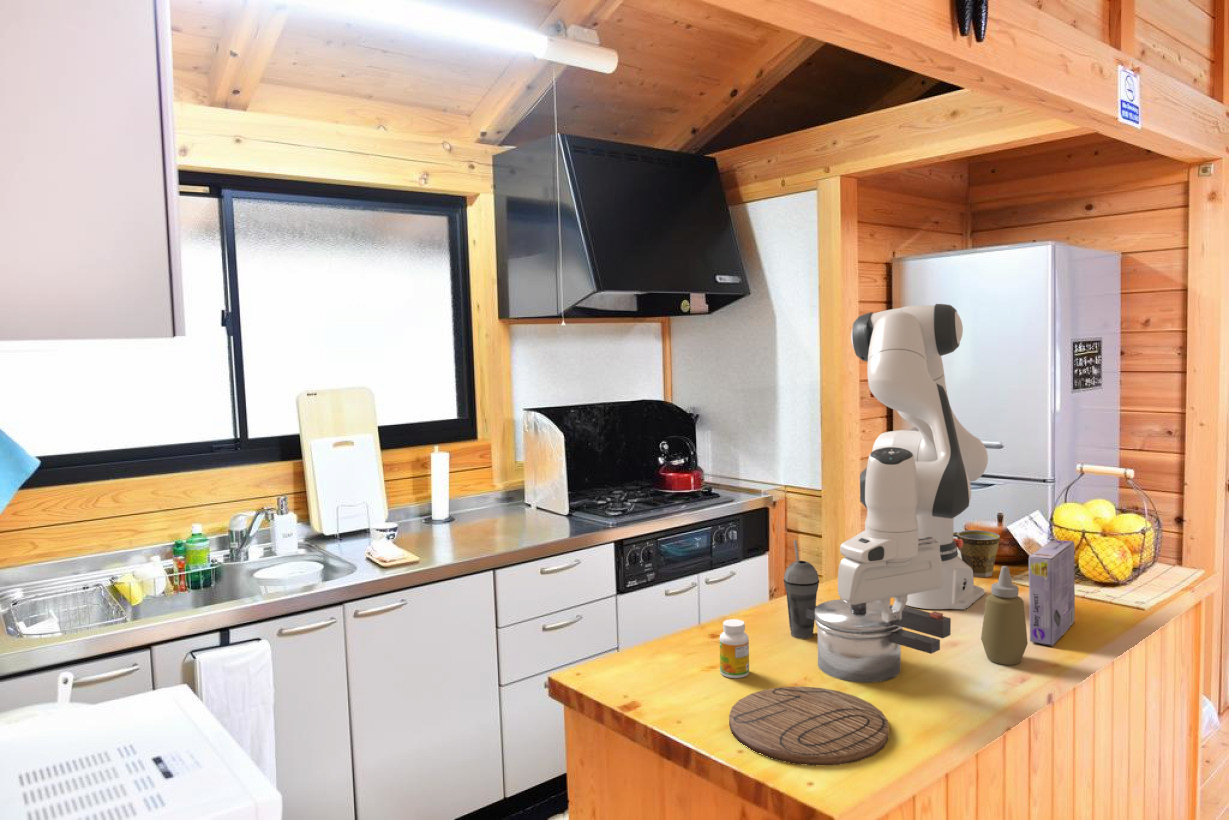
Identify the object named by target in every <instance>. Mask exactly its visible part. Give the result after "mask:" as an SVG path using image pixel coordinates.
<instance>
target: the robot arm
mask: <svg viewBox="0 0 1229 820" xmlns="http://www.w3.org/2000/svg"><path fill="white" fill-rule="evenodd" d="M963 327H964V326H963V322H962V319H961V317H960V314H958V311H957V309H956V308H955V307H954V306H952V305H951V304H946V303H945V304H944V303H935V304H934V305H930V304H929V305H926V304H925V305H923V304H921V305H909V306H902V307H897V308H892V309H886V310H881V311H879V312H878V311H877V312H872V311H871V312H866V313H865V314H862V315H859V316H858V317H857V318H856V319H855V320H854V322H853V324H852V328H851V334H850V343H851V345H852V349H853V351H854V353H855V356H856V357H858V358H859V359H860V360H861V361H862V362H867V363H866V364H867V366H866V367H867V368H866V369H867V371H866V372H867V375H866V376H867V384H868V389H869V391H870V392H871V394H872V395H873V396H874V398H875V399H876V400H877V401H878V402H880V403H881V404H883V405H884V406H885V407H888V409H892V410H894V411H896V412H897V413H898V415H899V416H900V418H902V419H903V420H905V421H907V423H908V422H909V423H910V424H912V425H913V427H915V428H916V429H917V430H908V429H907V430H906V429H900V430H899V429H898V430H892V431H886V432H882V433H880V434H879V435H878V436H877V438H876V439H875V441H874V443H873V445H872V449H871V452H870V453H869V455H868V458H867V459H868V460H867V464H866V465H867V466H866V468H865V469H863V470H862V472H860V474H859V490H860V491H859V496H860V498H859V501H860V502H861V504H862V505H863V507H865V508H866V511H867V512H866V514H867V515H866V519H865V521H864V530H862V531H861V532H859V533H858V534H856V535H855V536H853V537H850V538H849V539H847V540H846V541H844V542H842V543H841V544H840V546H839V549H840V550H839V552H840V555H842V556H844V557H842V559H841V560H840V562H839V565H838V572H837V594H838V597H840V598H839V599H842V600H843V601H845V602H847V603H849V604H852V605H856V604H861V603H867V602H872V601H876V602H877V604H878V606H879V608H880V609H881V611H882V620H883V621H885V622H887V623H888V622H892V621H898V620H901V619H902V610H903V608H904V606H907V607H911V608H920V609H924V610H925V609H926V610H948V609H949V610H950V609H951V610H967V609H968V608H969V607H970V606H971V605H972V603H973V604H974V603H975V602H977V600H979V599H980V598H981V597H983V596H984V595H985V593H986V592H985V589H984V588H982V587H980V586H979V585H975V584H974V580H975V579H974V578H975V577H973V570H972V568H971V567H970V566H968V565H967V564H966V563H965V562H964V561H963V560H962V558H960V556H959V553H958V552H959V551H958V548H962V547H963V541H962V539H957V537H956V538H954V536H953V533H954V521H955V520H954V518H956V517H957V516H959V515H961V514H962V513H963V512H964V511H966V509H968V507H969V506H970V502H971V498H972V486H971V482H975V481H977V480H979V479H980V478H981V477H982V476H983V474H984V473H985V472H986V470H987V466H988V464H989V463H988V462H989V456H988V455H989V454H988V451H987V448H986V447H985V445H984V442H983V441H982V440H981V439H980V438H978V437H976V436H975V435H973V434H972V433H971V432H970V431H968V430H967V429H966V428H965V427H964V425H962V424H961V422H960V421H959V420H958V418H957V417H956V415H955V413H954V412H953V409H952V407H951V404H950V401H949V396H948V395H949V394H948V389H947V386H946V385H947V384H946V377H945V370H944V363H943V358H942V356H946V355H948V354H951V353H954V352H955V351H956V350H957V349H958V348H959V346H960V344H961V341H962V338H963V332H964V330H963V329H964V328H963ZM953 538H954V539H953ZM891 599H894V602H893V604H892V605H893V607H892V608H891V609H890V608H889V606H888V604H890V605H891ZM966 608H967V609H966Z"/></svg>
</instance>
